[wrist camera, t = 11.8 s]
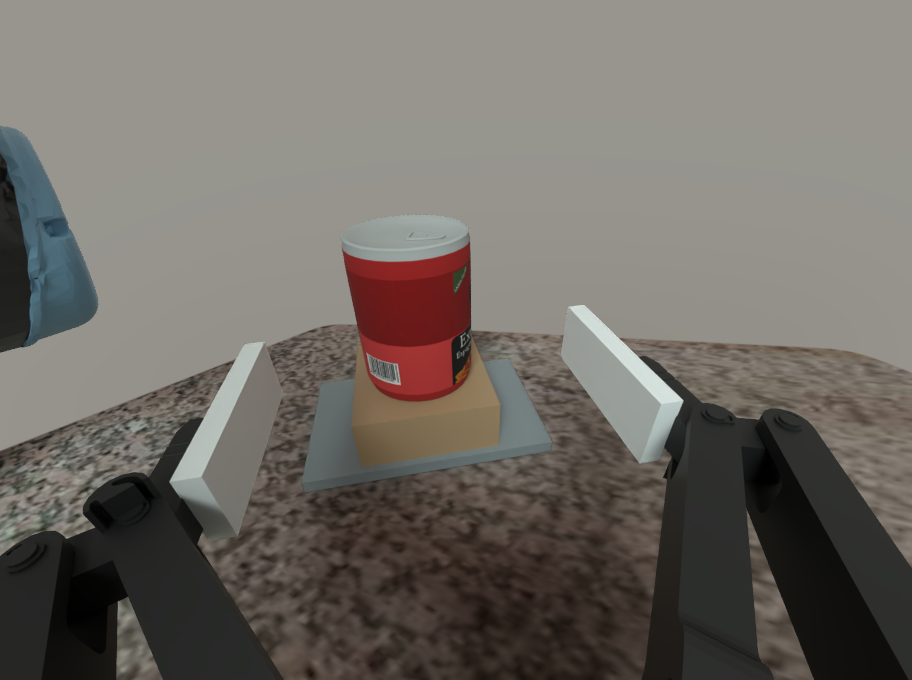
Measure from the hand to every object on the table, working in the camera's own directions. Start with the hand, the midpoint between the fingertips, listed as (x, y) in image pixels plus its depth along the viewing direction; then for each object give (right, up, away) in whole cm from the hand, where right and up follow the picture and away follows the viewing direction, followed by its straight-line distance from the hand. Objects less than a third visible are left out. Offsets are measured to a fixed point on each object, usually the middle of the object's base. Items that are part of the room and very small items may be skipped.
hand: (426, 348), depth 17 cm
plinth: (-1, -6, +15) cm, 16 cm away
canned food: (-2, -2, +13) cm, 13 cm away
